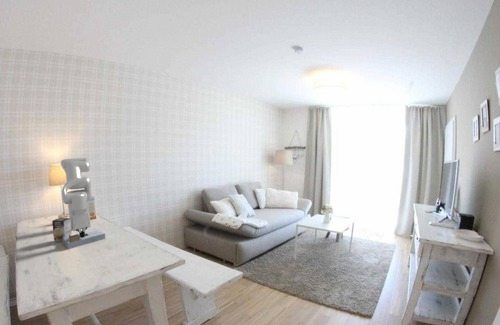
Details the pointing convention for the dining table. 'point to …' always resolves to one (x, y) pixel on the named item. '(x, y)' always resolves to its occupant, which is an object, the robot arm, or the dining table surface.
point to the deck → (84, 239)
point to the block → (74, 238)
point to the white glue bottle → (91, 208)
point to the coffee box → (61, 229)
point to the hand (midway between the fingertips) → (82, 237)
